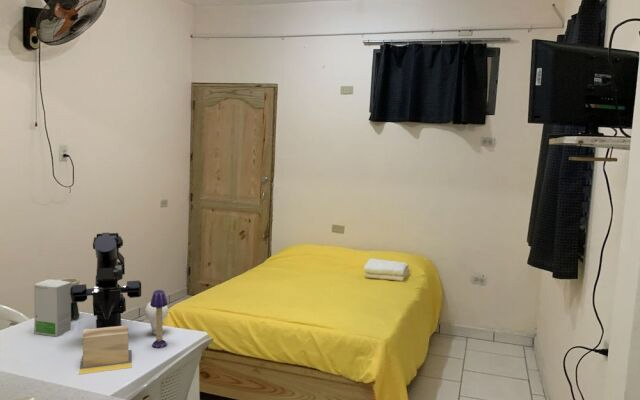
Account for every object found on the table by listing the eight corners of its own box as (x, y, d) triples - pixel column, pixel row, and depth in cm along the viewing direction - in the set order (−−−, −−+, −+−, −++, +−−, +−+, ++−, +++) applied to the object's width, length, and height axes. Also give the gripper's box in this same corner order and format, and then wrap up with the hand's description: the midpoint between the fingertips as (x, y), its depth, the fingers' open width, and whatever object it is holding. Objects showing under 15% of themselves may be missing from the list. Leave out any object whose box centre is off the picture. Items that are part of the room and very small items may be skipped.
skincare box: (34, 334, 152) (31, 284, 150) (50, 326, 159) (48, 278, 157) (57, 337, 150) (56, 286, 149) (73, 329, 157) (71, 280, 155)
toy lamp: (171, 347, 145) (170, 291, 143) (156, 352, 142) (155, 294, 140) (162, 342, 149) (161, 287, 147) (147, 347, 145) (146, 290, 143)
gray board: (82, 357, 138) (82, 355, 138) (131, 351, 142) (131, 349, 142) (78, 375, 127) (78, 374, 127) (131, 369, 131) (131, 367, 131)
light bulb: (148, 330, 157) (147, 296, 156) (170, 330, 158) (169, 296, 156) (142, 339, 151) (142, 303, 149) (165, 339, 151) (165, 303, 150)
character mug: (56, 326, 159) (54, 286, 157) (46, 320, 163) (44, 281, 162) (90, 317, 167) (89, 279, 166) (79, 312, 172) (78, 275, 170)
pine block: (85, 358, 136) (84, 329, 135) (128, 352, 140) (127, 325, 139) (83, 367, 131) (82, 338, 130) (128, 362, 134) (127, 333, 133)
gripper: (69, 257, 141) (66, 308, 132) (140, 253, 147) (142, 302, 139) (73, 277, 149) (70, 326, 140) (140, 272, 156) (141, 319, 147)
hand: (106, 318), depth 141 cm, fingers closed
